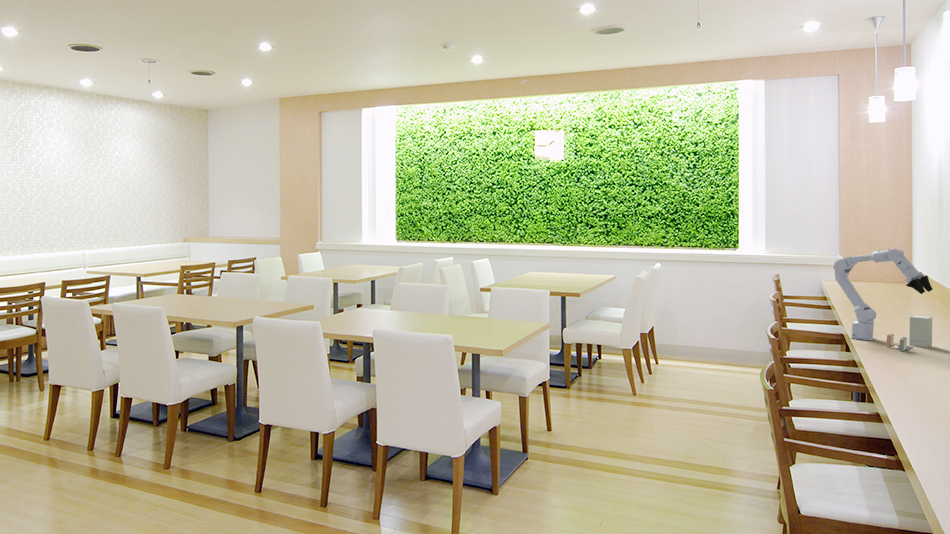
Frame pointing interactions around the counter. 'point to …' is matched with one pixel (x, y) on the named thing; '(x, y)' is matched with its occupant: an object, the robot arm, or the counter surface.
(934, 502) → the counter surface
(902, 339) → the slate tile
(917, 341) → the skincare box
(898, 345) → the rubber mat
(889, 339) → the terracotta tile
